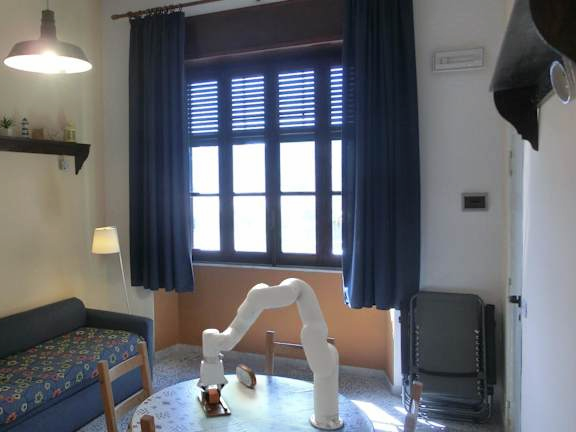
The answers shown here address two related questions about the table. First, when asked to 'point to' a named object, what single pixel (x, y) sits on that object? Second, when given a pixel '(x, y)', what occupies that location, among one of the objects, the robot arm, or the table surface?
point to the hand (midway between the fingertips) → (213, 399)
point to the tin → (246, 375)
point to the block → (213, 395)
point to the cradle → (213, 406)
